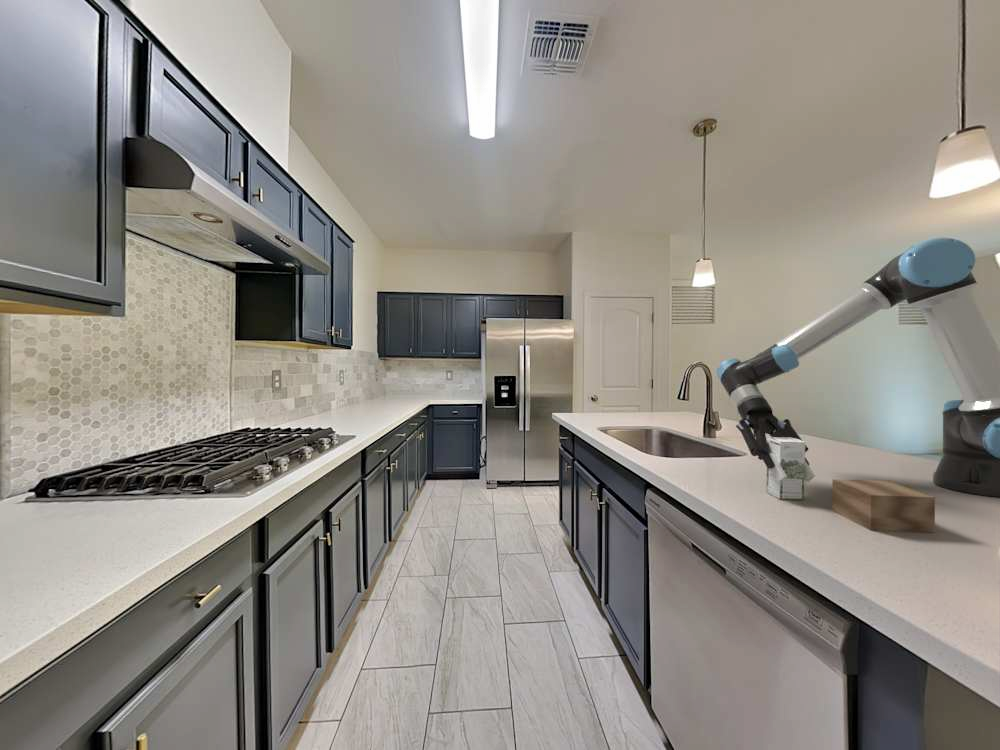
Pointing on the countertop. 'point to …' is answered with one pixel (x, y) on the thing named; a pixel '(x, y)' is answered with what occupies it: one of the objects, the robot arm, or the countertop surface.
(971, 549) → the countertop surface
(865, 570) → the countertop surface
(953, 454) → the robot arm
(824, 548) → the countertop surface
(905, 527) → the walnut block
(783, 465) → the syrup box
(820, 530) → the countertop surface
